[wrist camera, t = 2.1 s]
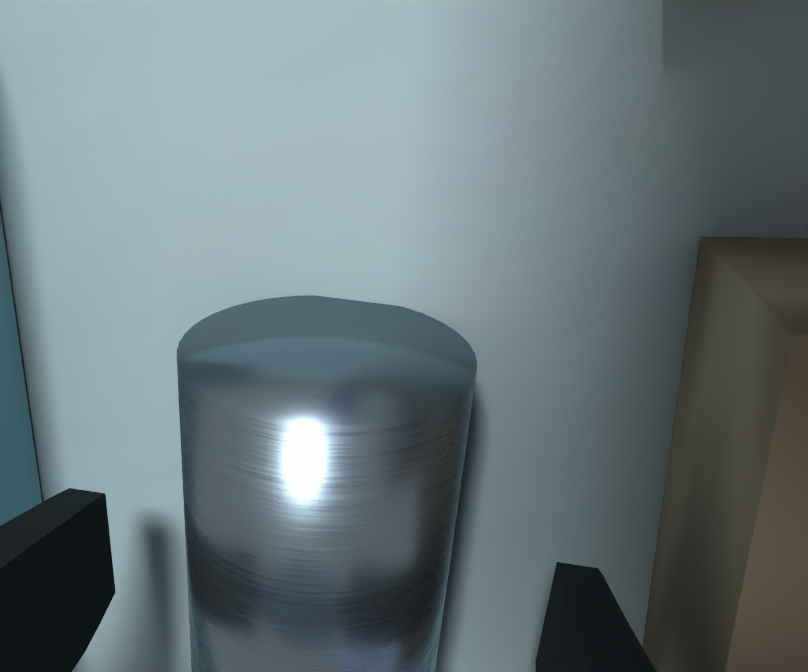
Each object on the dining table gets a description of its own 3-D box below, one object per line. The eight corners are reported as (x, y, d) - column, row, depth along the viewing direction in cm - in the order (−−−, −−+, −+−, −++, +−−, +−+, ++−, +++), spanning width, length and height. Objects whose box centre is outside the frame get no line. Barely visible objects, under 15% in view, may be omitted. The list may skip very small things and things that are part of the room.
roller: (436, 681, 15) (400, 897, 11) (247, 642, 15) (153, 836, 11) (487, 316, 11) (460, 448, 8) (245, 282, 12) (114, 391, 8)
